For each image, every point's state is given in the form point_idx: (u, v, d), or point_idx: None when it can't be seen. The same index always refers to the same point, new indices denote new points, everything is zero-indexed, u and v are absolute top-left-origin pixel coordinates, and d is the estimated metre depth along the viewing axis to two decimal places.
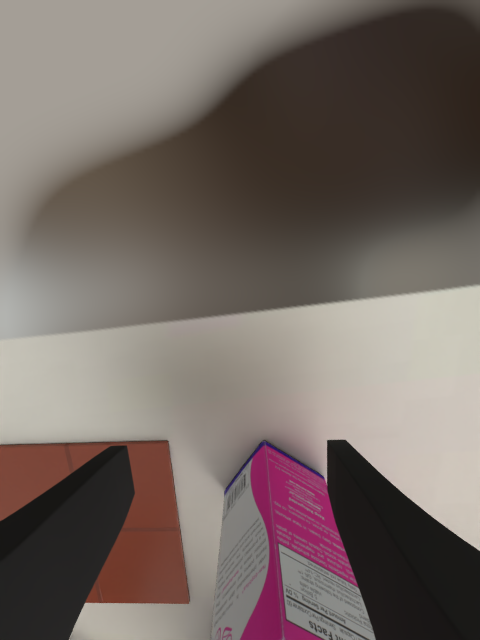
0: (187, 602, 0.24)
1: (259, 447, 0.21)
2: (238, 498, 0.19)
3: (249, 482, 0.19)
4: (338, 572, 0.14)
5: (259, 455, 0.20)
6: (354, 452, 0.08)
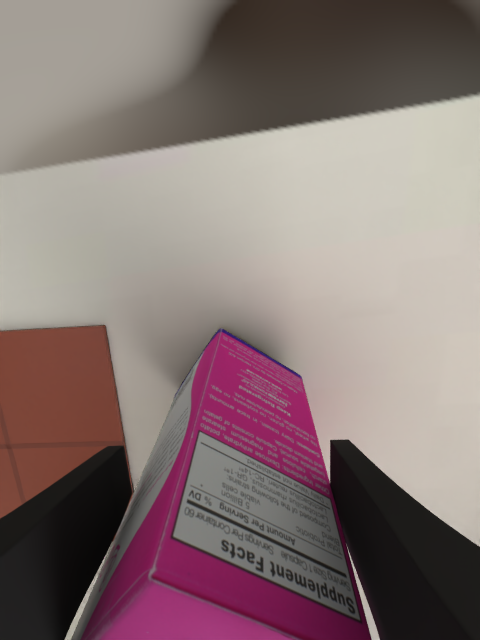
0: None
1: (214, 336, 0.15)
2: (181, 394, 0.14)
3: (193, 374, 0.14)
4: (297, 476, 0.09)
5: (211, 344, 0.15)
6: (358, 452, 0.08)
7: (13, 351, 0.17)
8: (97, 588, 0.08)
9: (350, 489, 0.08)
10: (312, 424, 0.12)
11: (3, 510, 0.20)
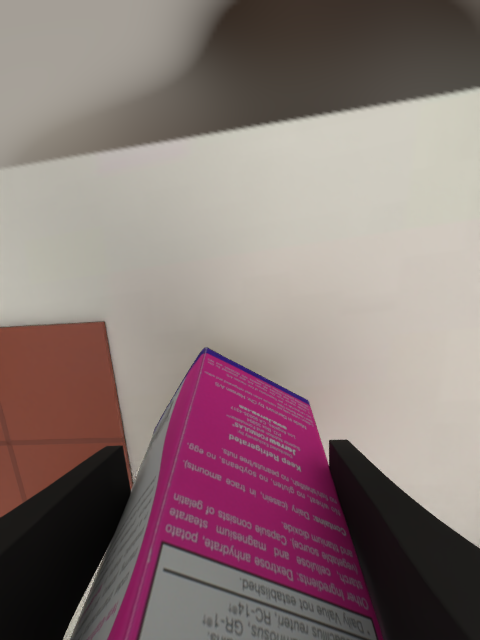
0: None
1: (197, 358, 0.12)
2: (156, 438, 0.11)
3: (171, 413, 0.10)
4: (321, 588, 0.06)
5: (193, 370, 0.11)
6: (356, 452, 0.08)
7: (12, 347, 0.17)
8: None
9: (349, 489, 0.08)
10: (330, 476, 0.09)
11: (3, 506, 0.20)
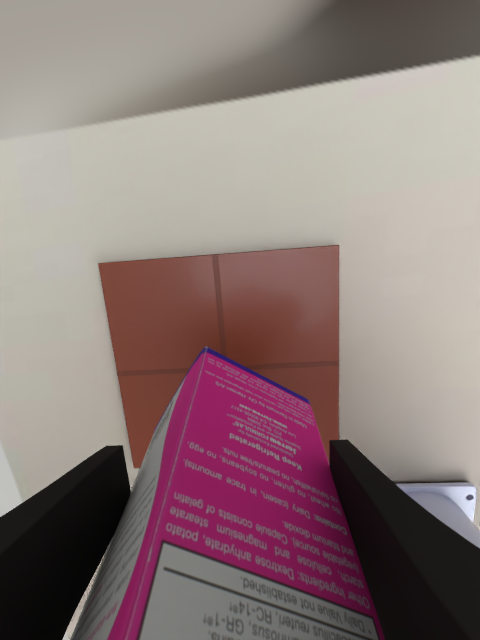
0: None
1: (197, 357, 0.12)
2: (156, 438, 0.11)
3: (171, 412, 0.10)
4: (322, 587, 0.06)
5: (193, 369, 0.11)
6: (357, 452, 0.08)
7: (246, 272, 0.18)
8: None
9: (349, 489, 0.08)
10: (330, 475, 0.09)
11: None
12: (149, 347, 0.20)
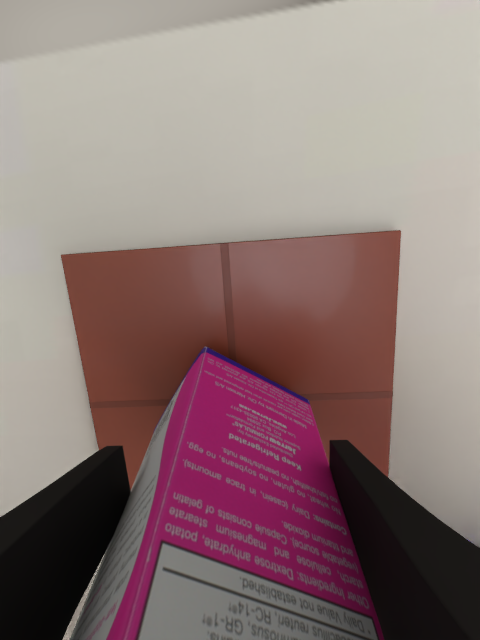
0: None
1: (197, 357, 0.12)
2: (156, 438, 0.11)
3: (171, 412, 0.10)
4: (321, 588, 0.06)
5: (193, 369, 0.11)
6: (357, 452, 0.08)
7: (267, 268, 0.13)
8: None
9: (349, 489, 0.08)
10: (330, 476, 0.09)
11: None
12: (132, 370, 0.15)
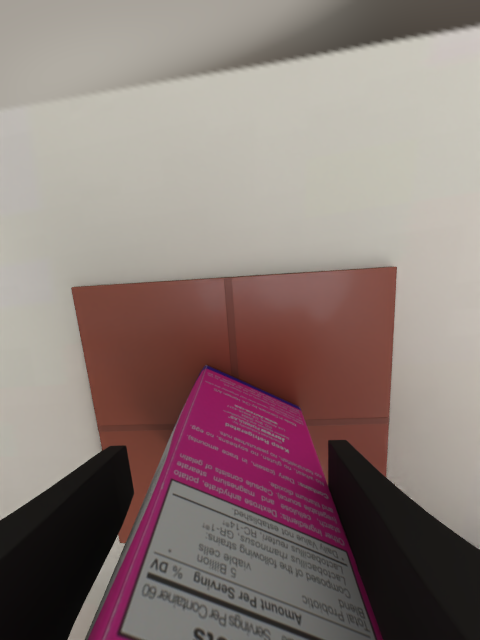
0: None
1: (199, 374, 0.14)
2: None
3: (178, 419, 0.12)
4: (301, 525, 0.07)
5: (196, 383, 0.13)
6: (355, 452, 0.08)
7: (269, 301, 0.14)
8: None
9: (347, 489, 0.08)
10: (316, 460, 0.11)
11: None
12: (139, 396, 0.15)
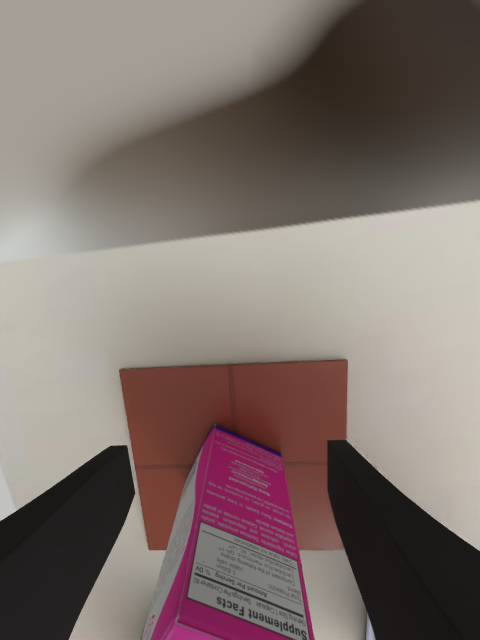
0: (342, 548, 0.22)
1: (210, 431, 0.20)
2: (188, 485, 0.18)
3: (196, 468, 0.18)
4: (272, 546, 0.13)
5: (208, 440, 0.19)
6: (355, 452, 0.08)
7: (259, 381, 0.19)
8: None
9: (346, 489, 0.08)
10: (288, 499, 0.16)
11: None
12: (166, 445, 0.21)
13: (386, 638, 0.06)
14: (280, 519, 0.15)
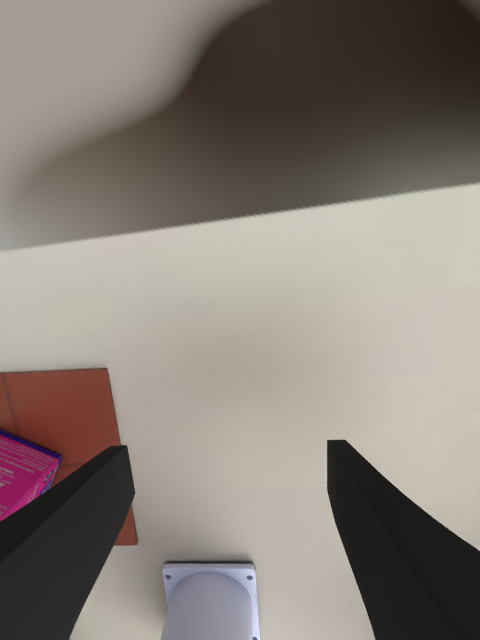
0: (134, 544, 0.24)
1: None
2: None
3: None
4: None
5: None
6: (355, 452, 0.08)
7: (31, 389, 0.21)
8: None
9: (346, 489, 0.08)
10: (19, 497, 0.18)
11: None
12: None
13: (386, 638, 0.06)
14: None
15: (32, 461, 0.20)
